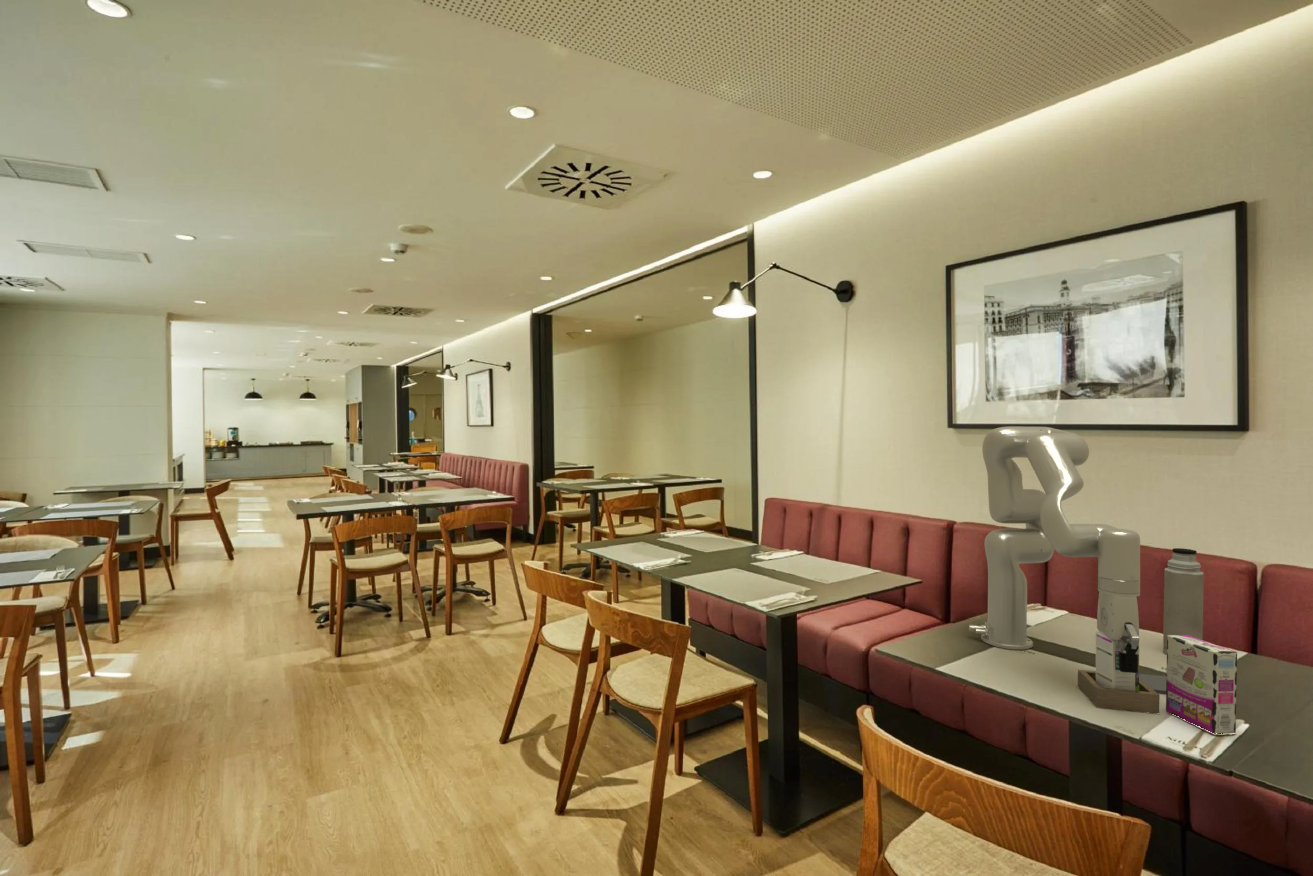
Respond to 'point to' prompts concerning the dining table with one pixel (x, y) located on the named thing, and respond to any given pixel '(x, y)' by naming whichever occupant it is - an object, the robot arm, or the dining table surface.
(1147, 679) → the mat
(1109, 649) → the syrup box
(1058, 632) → the dining table surface
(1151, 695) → the collar
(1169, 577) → the thermos bottle
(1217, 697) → the candy bar box
